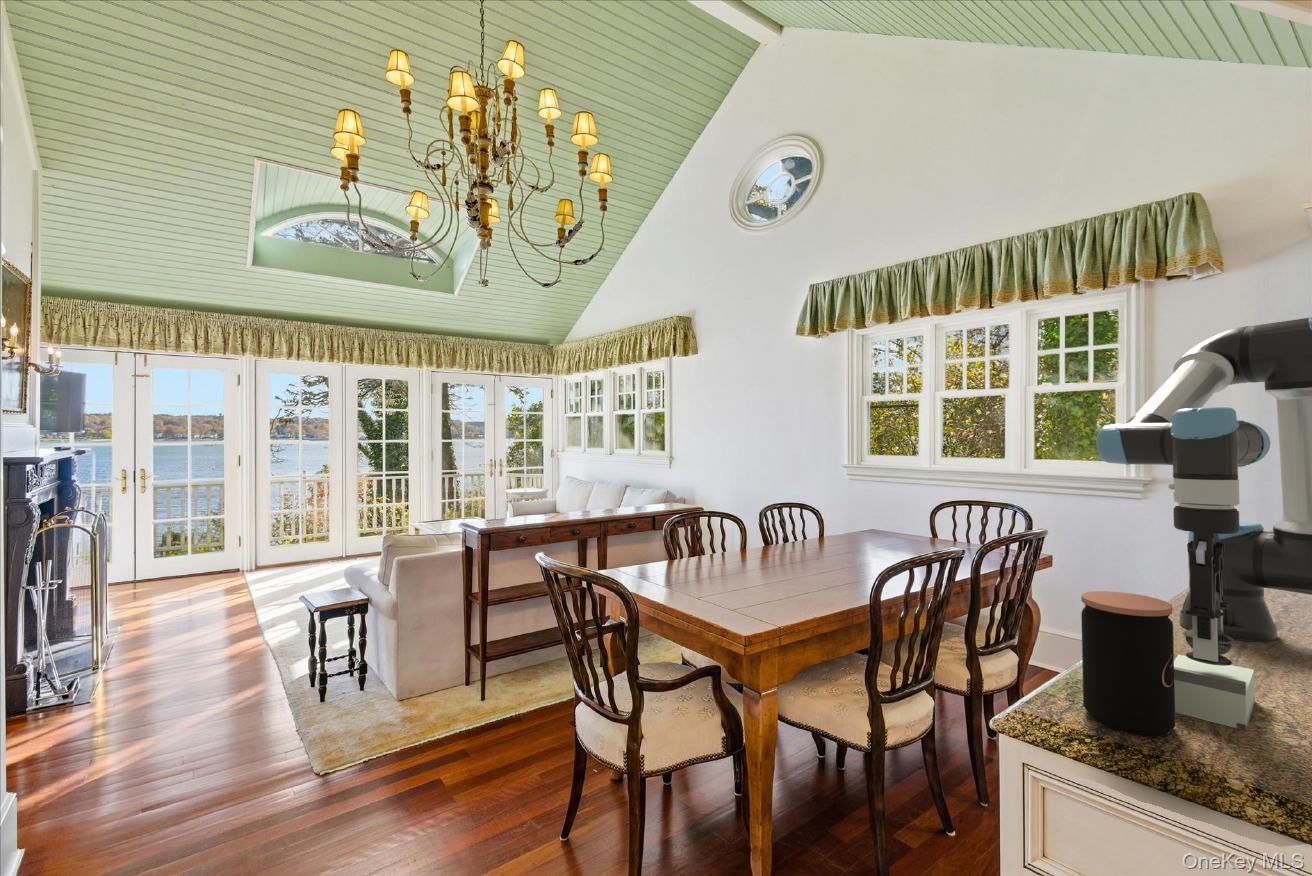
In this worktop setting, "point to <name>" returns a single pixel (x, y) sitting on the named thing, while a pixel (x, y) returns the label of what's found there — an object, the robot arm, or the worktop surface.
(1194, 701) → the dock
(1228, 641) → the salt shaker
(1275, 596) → the worktop surface
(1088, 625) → the coffee jar
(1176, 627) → the worktop surface
